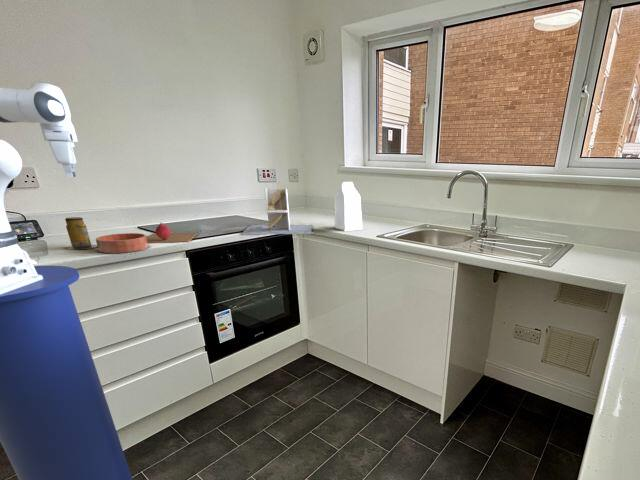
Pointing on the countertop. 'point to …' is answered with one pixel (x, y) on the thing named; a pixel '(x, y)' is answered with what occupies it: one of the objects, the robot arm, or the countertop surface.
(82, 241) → the condiment
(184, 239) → the mat
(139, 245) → the bowl
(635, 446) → the countertop surface
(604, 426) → the countertop surface
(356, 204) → the milk
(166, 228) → the onion
